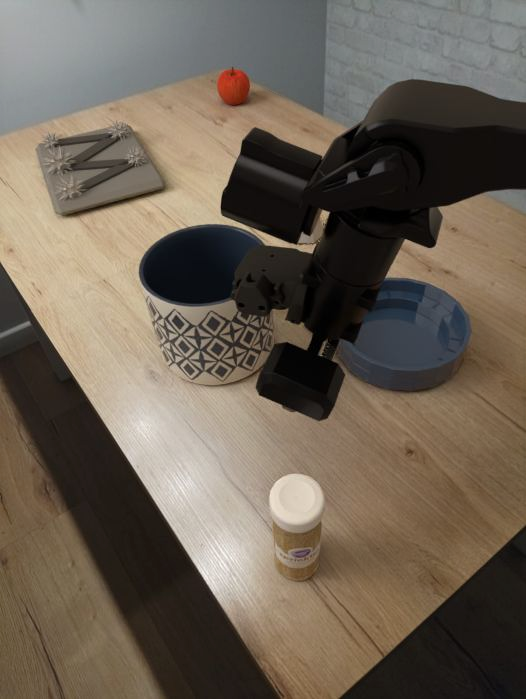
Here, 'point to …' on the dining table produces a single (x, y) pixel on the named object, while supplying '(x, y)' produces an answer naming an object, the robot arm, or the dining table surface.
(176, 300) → the planter
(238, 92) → the apple
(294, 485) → the sprinkles bottle
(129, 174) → the decorative plate
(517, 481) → the dining table surface
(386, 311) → the bowl
